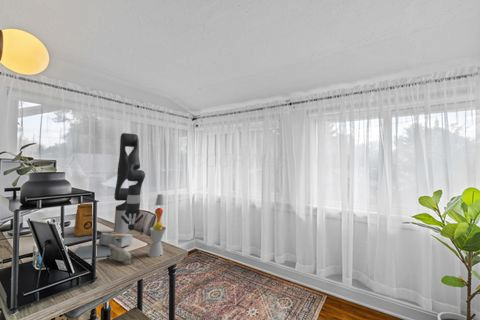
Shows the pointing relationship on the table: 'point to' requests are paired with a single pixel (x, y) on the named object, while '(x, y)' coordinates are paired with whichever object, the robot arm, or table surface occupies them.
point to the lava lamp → (157, 230)
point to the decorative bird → (119, 254)
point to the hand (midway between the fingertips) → (131, 230)
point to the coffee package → (83, 220)
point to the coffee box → (115, 239)
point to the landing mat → (86, 251)
